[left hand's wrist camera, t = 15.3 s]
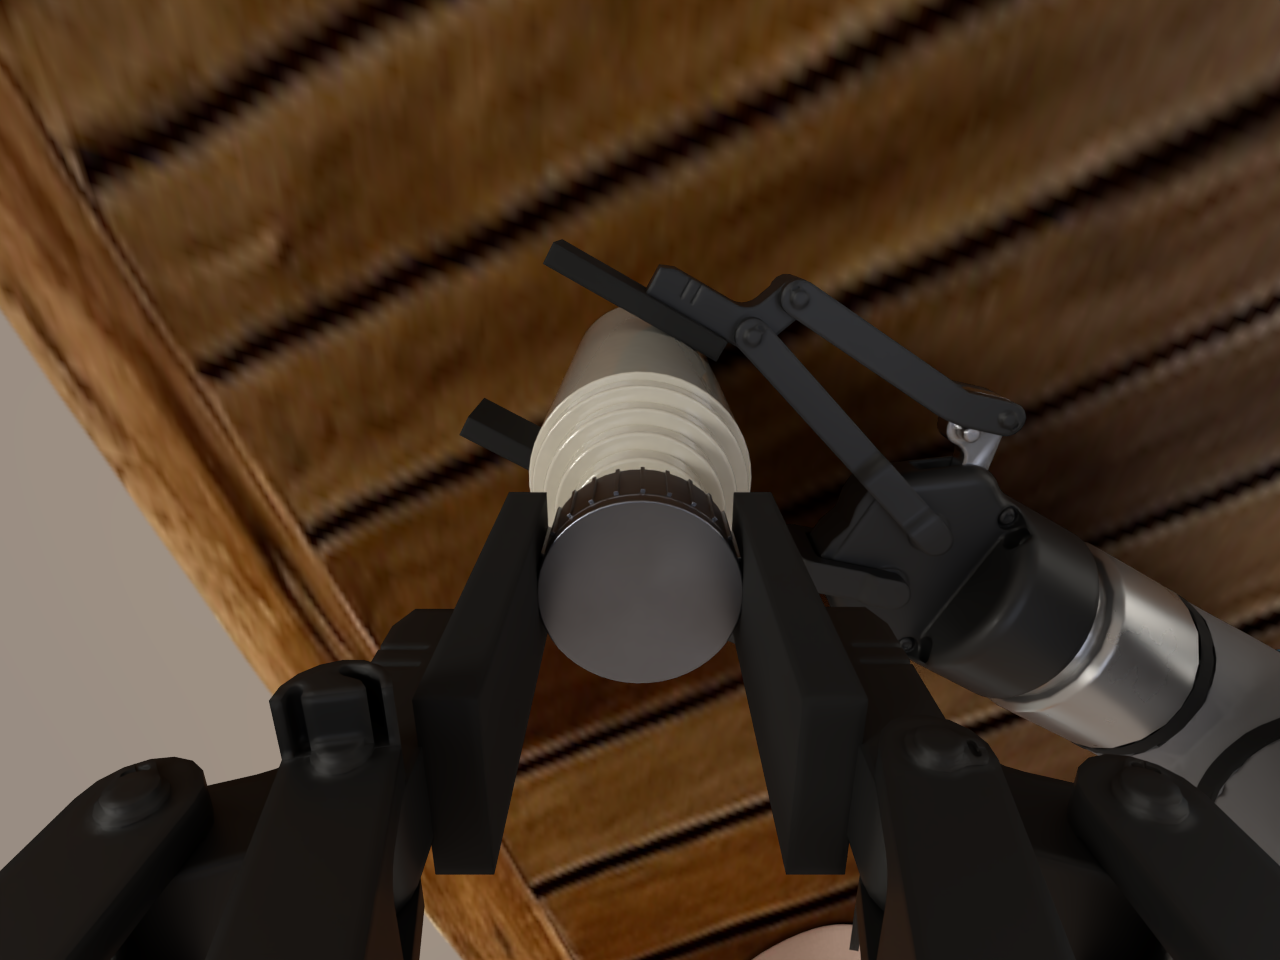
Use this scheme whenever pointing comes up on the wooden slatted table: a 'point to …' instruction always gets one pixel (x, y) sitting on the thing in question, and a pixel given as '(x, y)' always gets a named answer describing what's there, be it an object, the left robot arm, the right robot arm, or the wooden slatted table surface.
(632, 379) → the bottle
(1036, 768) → the wooden slatted table surface
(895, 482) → the right robot arm
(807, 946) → the anatomical model
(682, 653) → the cap
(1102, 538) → the wooden slatted table surface
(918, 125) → the wooden slatted table surface
